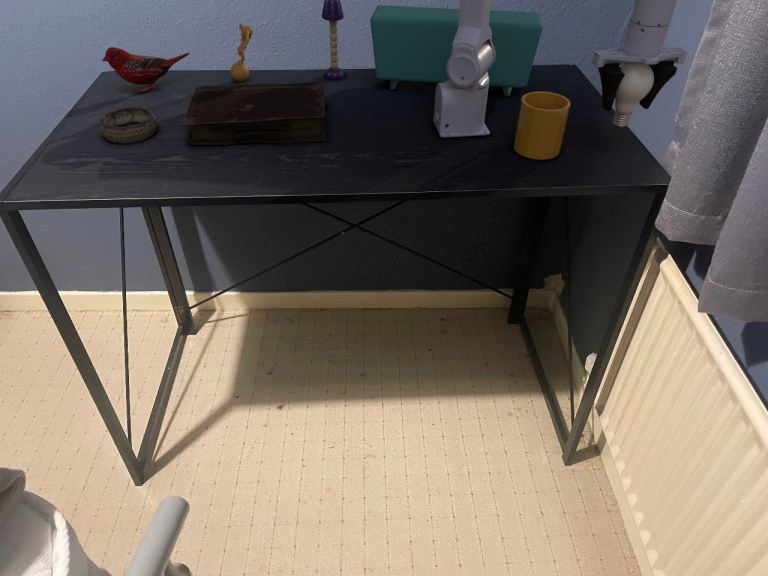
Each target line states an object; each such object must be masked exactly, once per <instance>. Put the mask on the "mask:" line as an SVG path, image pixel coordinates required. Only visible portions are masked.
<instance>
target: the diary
mask: <svg viewBox="0 0 768 576" xmlns="http://www.w3.org/2000/svg"><path fill="white" fill-rule="evenodd" d="M324 90H325V89H324V81H310V82H295V83H250V84H235V85H196V87H195V89H194V92H193V94H192V97H191V98H190V101H189V104H188V107H187V109H186V112H185V115H184V119H183V121H182V126H183V127H187V128H190V133H191V134H190V136H189V138H188V140H187V141H186V143H187V144H190V145H196V146H197V145H198V146H200V145H201V146H203V145H204V146H206V145H208V146H209V145H211V146H212V145H214V146H217V145H220V146H221V145H222V146H224V145H225V146H226V145H235V144H247V143H249V144H250V143H268V144H269V143H271V144H272V143H273V144H299V143H310V142H320V141H321V142H322V141H327V127H326V125H327V124H326V110H325V109H326V108H325V107H326V106H325V91H324Z"/></svg>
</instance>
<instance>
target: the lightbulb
mask: <svg viewBox="0 0 768 576" xmlns="http://www.w3.org/2000/svg"><path fill="white" fill-rule="evenodd" d="M620 67H621V71H622V72H623V73H624V74H625V76H624V77H623V79H622V81H621V83H620V85H619V87H618V90H617V92H616V95H615V99H614V108H615V110H614V114H613V117H612V118H613V119H612V121H611V123H612V124H613V125H614V126H616V128H621V129H622V128H625V127H627V126H629V125H630V124H629V123H630V121H631V117H632V114H633V112H634V111H635V109H636V108H637V106H638V105H639V102H640V100H642V99H643V98H644V97H645V96H646V95H647V94H648V93H649V92H650V90H651V89H652V86H653V83H654V73H653V70H652V69H651V67H650V66H649V65H648V64H644V63H638V62H637V63H634V64H628V65H620Z"/></svg>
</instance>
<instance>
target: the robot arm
mask: <svg viewBox="0 0 768 576" xmlns="http://www.w3.org/2000/svg"><path fill="white" fill-rule="evenodd" d="M677 2H678V0H634V4H633V8H632V11H631V14H630V19H629V22H628V26H627V29H626V33H625V37H624V41H623V44H622V46H617V47H613V48H608V49H607V48H606V49H603V50H594V52H593V55H592V61H591V64H592V65H593V66H594V67H595V68H597V70H598V74H599V78H600V84H601V107H602V109H603V110H605V111H606V112H611V111H612V108H613V105H614V104H615V95H616V92H617V90H618V87H619V85H620V83H621V81H622V79H623V77H624V76H625V74H624V73H623V72H622V71H621V67H620V66H621V65H628V64H634V63H637V62H638V63H644V64H648V65H649V66H650V67H651V69H652V70H653V73H654V83H653V86H652V89H651V90H650V92H649V93H648V94H647V95H646V96H645V97H644V98H643V99H642V100H640V101H639V103H638V105H639V106H640V107H642V108H643V110H649V108H650V107H651V105H652V104H653V102H654V100H655V99H656V97H657V96H658V94H659V92H660V91H661V90H662V89H663V88H664V87H665V85H666V84H667V83H668V82H669V81H671V79H672V78H673V77H674V76H675V75H676V74H677V71H678V67H677V66H675V64H677V65H683V64H684V63H685V60H686V57H687V54H688V50H686V49H684V48H683V47H671V46H664V45H665V40H666V37H667V33H668V32H669V27H670V24H671V21H672V19H673V15H674V13H675V8H676V5H677ZM458 9H459V27H458V30H457V33H456V36H455V38H454V41H453V44H452V54H451V57H450V58H449V60H448V63H447V67H446V70H447V75H448V78H449V79H450V80H448V81H446V82H442V83H436V88H435V96H434V108H433V109H434V112H433V118H432V122H433V123H434V126H435V128H436V130H437V132H438V134H439V137H440V138H457V137H459V138H460V137H473V136H474V137H478V136H489V135H490V134H491V132H490V130H489V128H488V127H487V125H486V123H485V118H486V110H487V104H488V103H487V102H488V94H489V87H490V86H489V77H488V73H487V72H488V69H490V68H491V66H492V65H493V63H494V61H495V55H496V54H495V49H494V46H493V44H492V31H491V28H490V26H489V13H490V10H491V0H459V3H458Z"/></svg>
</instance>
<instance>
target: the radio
mask: <svg viewBox="0 0 768 576" xmlns="http://www.w3.org/2000/svg"><path fill="white" fill-rule="evenodd" d="M369 22H370V30H371V39H372V48H373V55H374V56H373V58H374V68H375V76H376V78H377V80H384V81H390V82H389V83H390V84H389V85H390V86H389V87H390V90H395V89H396V87H397V86H398V84H399V82H400V81H401V82H417V83H418V82H419V83H433V84H434V83H435V84H438V83H442V82H446V81H448V80H450V79H449V78H448V75H447V70H446V67H447V63H448V60H449V58H450V57H451V54H452V44H453V41H454V38H455V36H456V33H457V30H458V27H459V8H447V7H446V8H445V7H428V6H427V7H425V6H404V5H382V4H381V5H377V6H376V7H375V9H374V11H373V13H372V15H371V17H370V20H369ZM489 26H490V28H491V31H492V44H493V46H494V49H495V54H496V55H495V61H494V63H493V65H492V66H491V68H490V69H488V72H487V73H488V77H489V87H501V88H502V91H503V95H504V97H510V95H511V93H512V89H513V88H516V89H517V88H518V89H523V88H525V87H527V85H528V81H529V78H530V75H531V71H532V68H533V65H534V61H535V57H536V54H537V50H538V47H539V43H540V39H541V36H542V33H543V29H544V27H543V22H542V17H541V14H540V13H539V12H534V11H515V10H514V11H513V10H511V11H510V10H491V9H490V13H489Z"/></svg>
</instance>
